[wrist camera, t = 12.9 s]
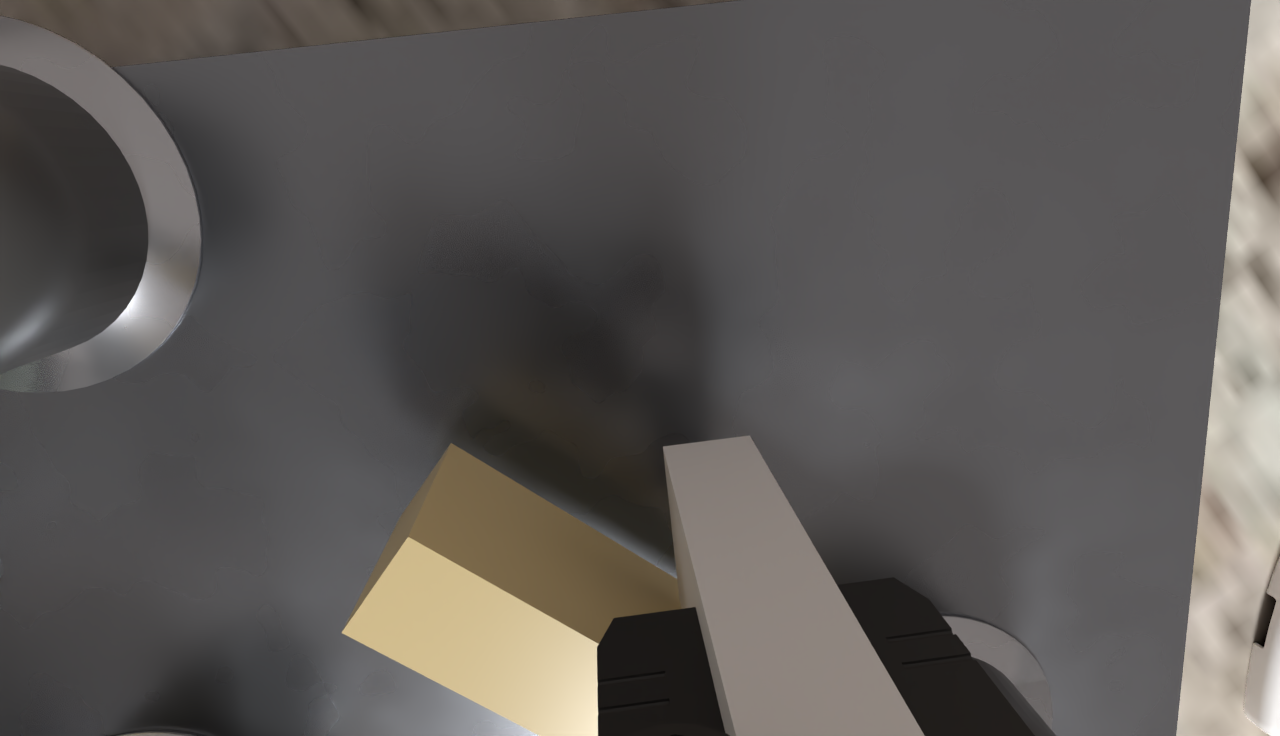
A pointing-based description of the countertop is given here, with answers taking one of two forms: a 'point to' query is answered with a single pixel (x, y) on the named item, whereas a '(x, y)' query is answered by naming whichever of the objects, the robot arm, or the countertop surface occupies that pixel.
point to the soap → (1266, 671)
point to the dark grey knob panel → (633, 337)
